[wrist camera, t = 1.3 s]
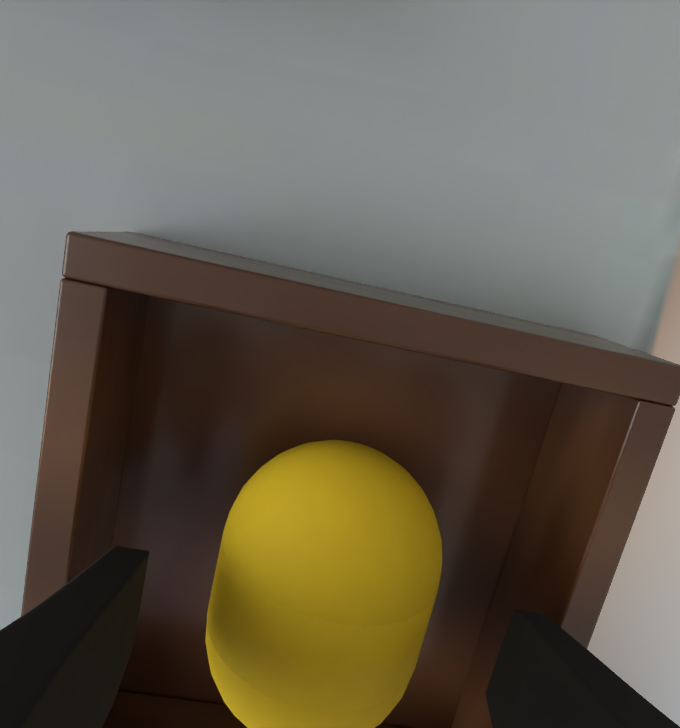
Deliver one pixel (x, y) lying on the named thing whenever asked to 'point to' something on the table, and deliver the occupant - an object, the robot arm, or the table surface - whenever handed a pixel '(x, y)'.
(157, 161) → the table surface
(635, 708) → the robot arm
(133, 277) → the box
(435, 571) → the yellow capsule
